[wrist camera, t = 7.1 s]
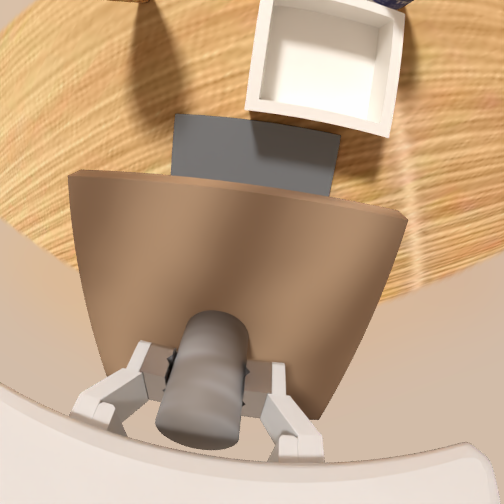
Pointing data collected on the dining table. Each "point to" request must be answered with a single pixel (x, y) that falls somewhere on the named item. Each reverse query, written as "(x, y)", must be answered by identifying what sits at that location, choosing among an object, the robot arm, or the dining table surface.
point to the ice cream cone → (140, 0)
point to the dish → (327, 62)
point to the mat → (254, 153)
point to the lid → (228, 287)
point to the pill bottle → (392, 3)
